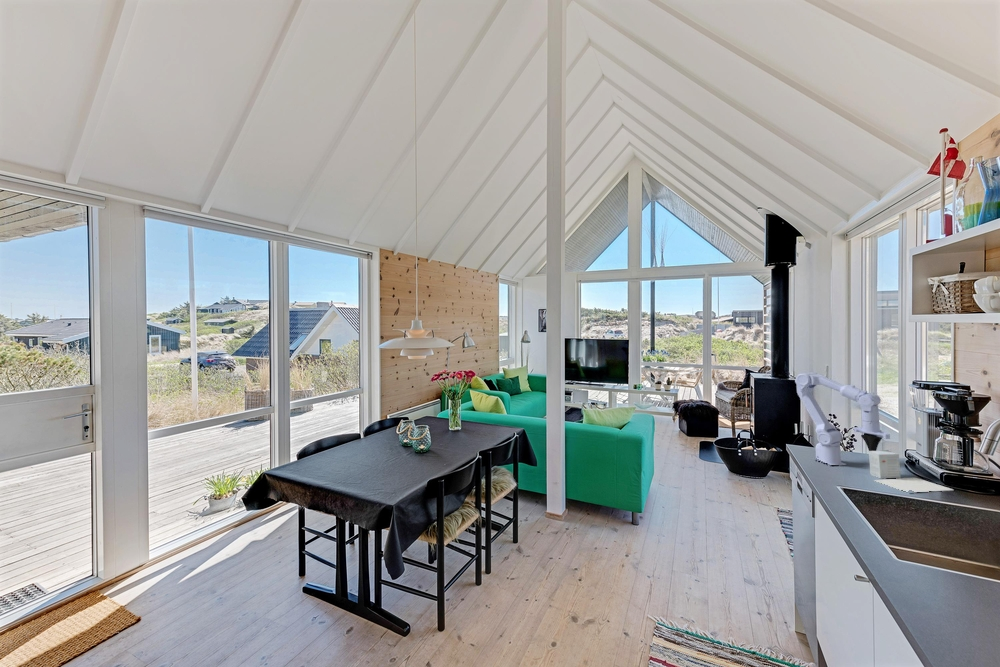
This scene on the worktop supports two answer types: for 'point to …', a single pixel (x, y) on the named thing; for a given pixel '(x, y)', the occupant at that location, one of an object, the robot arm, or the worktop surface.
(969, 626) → the worktop surface
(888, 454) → the small box
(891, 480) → the mat
